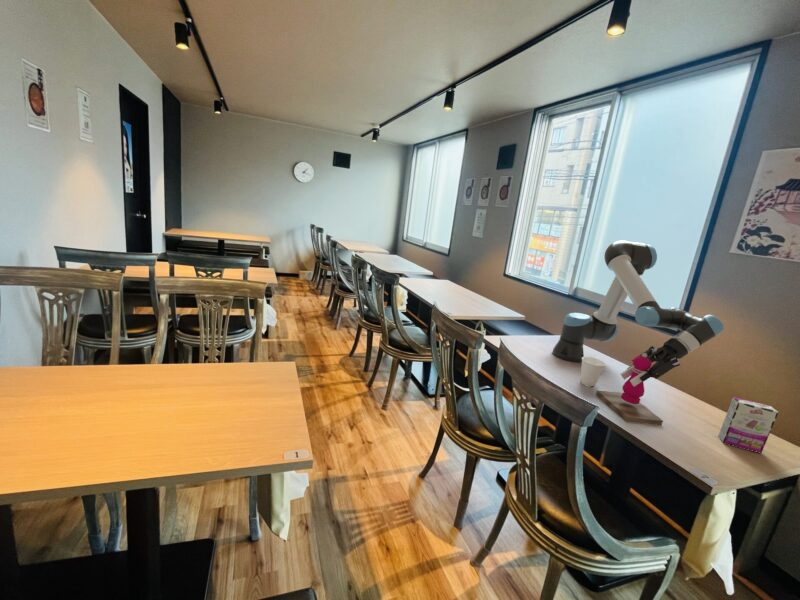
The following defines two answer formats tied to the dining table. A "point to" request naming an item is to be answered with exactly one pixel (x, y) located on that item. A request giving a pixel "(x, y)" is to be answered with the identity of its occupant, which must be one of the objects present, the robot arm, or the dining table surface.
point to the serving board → (629, 409)
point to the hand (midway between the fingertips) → (627, 380)
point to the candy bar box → (747, 424)
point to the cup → (591, 370)
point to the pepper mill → (640, 365)
